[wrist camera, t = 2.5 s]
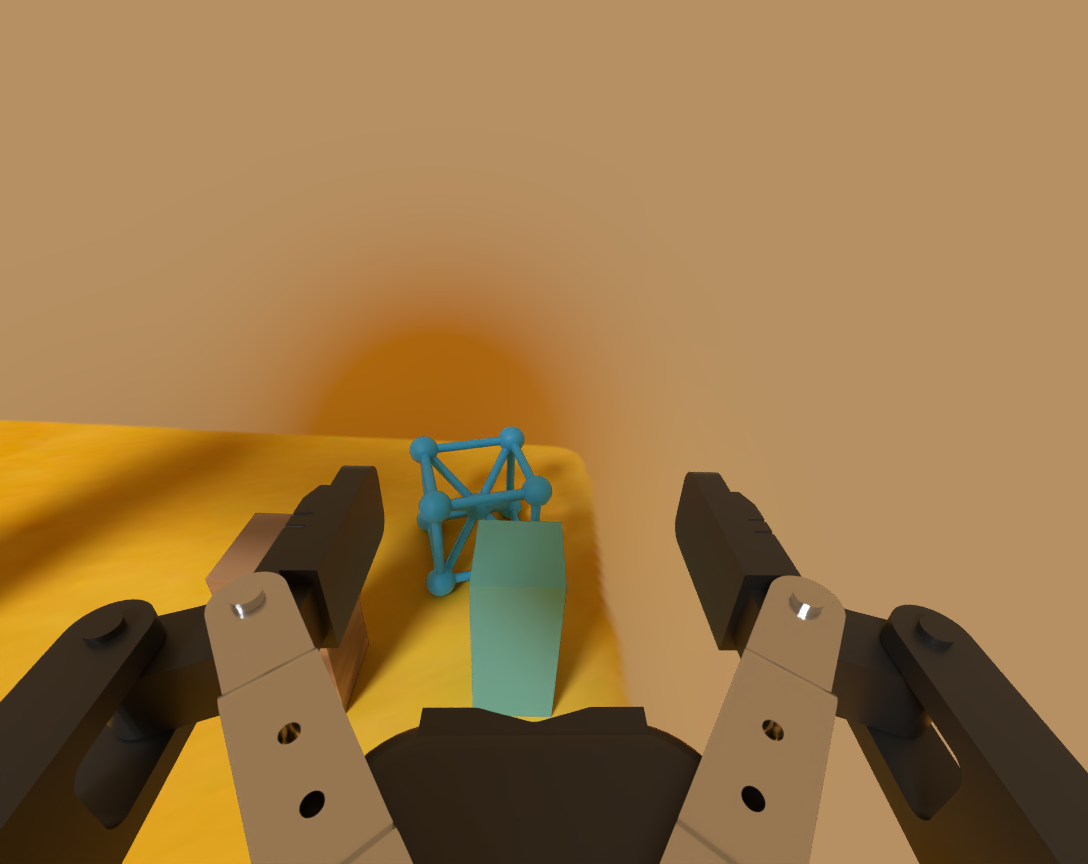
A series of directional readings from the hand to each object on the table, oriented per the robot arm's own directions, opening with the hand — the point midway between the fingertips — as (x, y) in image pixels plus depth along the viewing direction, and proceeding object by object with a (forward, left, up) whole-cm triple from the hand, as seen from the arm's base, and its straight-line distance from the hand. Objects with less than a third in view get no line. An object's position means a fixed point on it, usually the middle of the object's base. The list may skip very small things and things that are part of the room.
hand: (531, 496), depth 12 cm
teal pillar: (+5, +8, -23) cm, 25 cm away
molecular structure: (+8, +21, -24) cm, 32 cm away
